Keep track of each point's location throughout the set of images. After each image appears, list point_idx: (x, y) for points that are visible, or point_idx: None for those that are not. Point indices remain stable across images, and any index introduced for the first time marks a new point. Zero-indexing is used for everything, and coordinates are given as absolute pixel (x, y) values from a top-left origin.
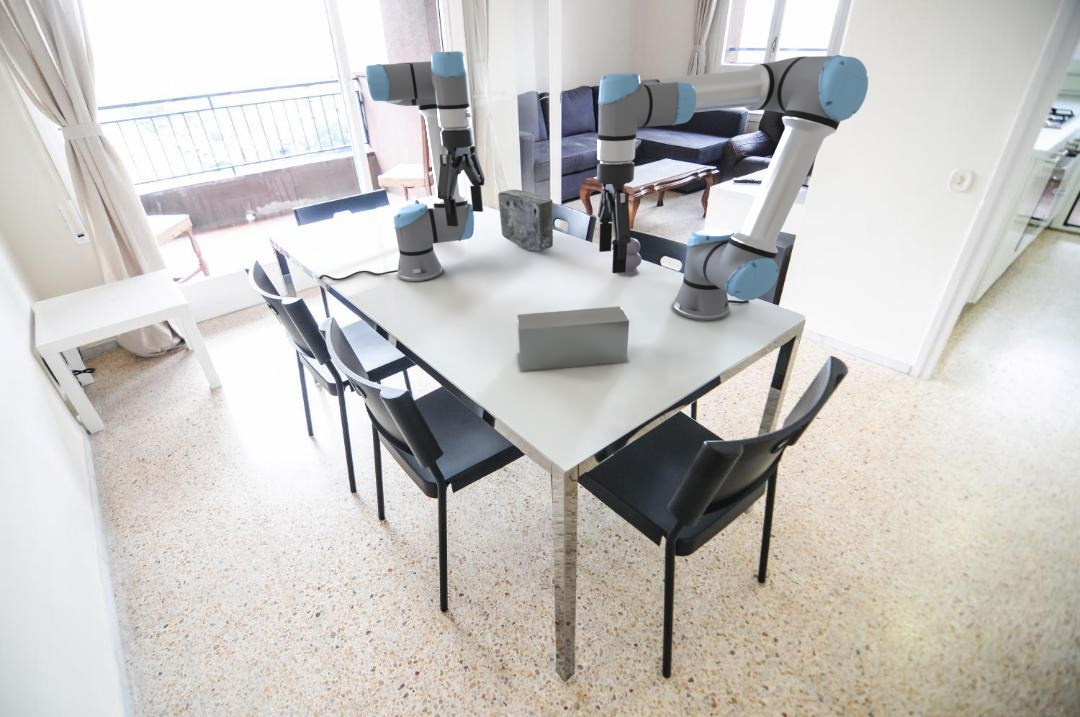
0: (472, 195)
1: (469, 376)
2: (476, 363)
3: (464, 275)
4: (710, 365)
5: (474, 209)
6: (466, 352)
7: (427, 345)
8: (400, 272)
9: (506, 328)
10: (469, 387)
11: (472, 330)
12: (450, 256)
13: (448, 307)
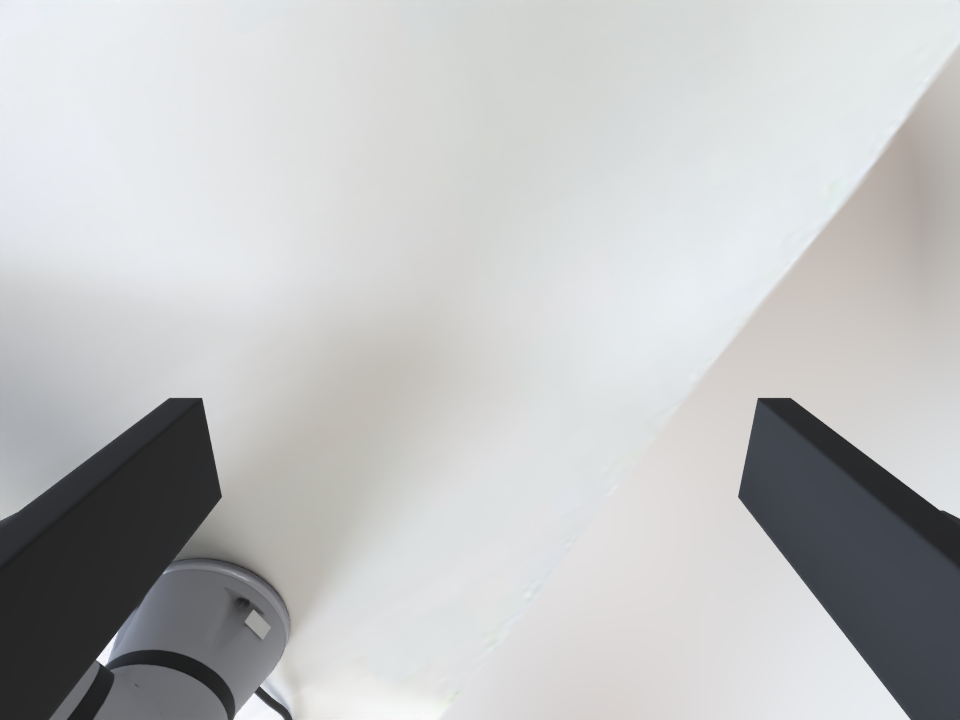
0: (106, 621)
1: (869, 83)
2: (782, 100)
3: None
4: None
5: (209, 489)
6: (713, 176)
7: (690, 330)
8: (275, 665)
9: (507, 108)
10: (938, 47)
11: (557, 234)
12: None
13: (418, 403)
